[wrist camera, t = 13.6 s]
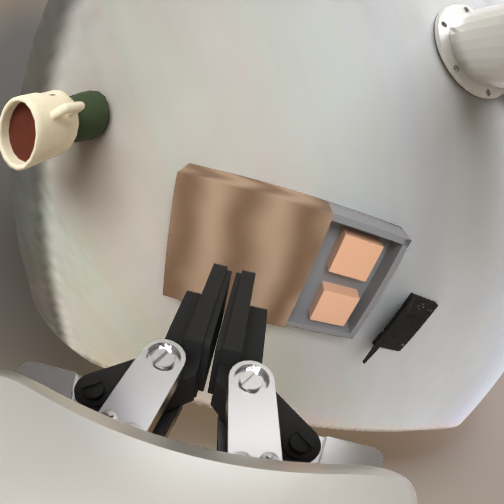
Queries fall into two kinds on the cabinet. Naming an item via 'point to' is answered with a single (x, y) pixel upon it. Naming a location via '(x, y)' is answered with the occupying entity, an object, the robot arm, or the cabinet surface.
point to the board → (243, 237)
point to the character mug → (49, 125)
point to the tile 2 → (354, 254)
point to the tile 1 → (333, 303)
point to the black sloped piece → (404, 324)
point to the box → (367, 290)
